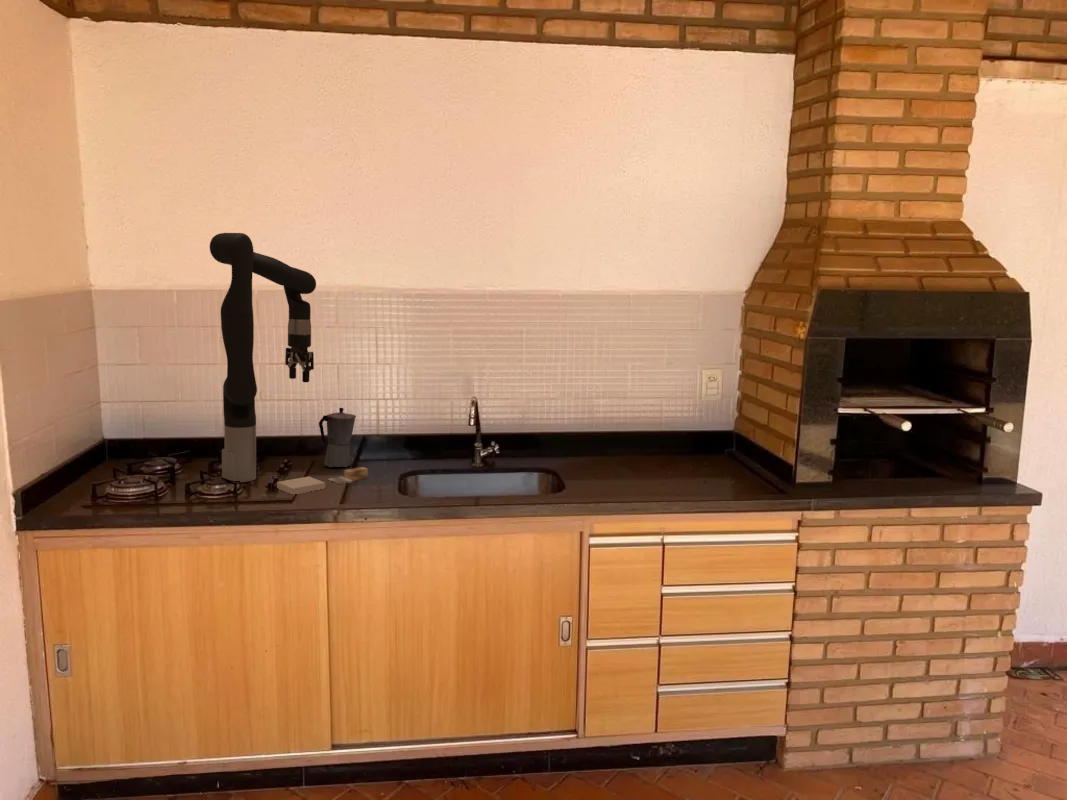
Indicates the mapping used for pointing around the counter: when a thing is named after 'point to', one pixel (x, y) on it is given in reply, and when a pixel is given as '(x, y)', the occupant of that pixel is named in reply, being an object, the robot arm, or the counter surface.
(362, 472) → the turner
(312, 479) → the tile
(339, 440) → the moka pot
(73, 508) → the counter surface
